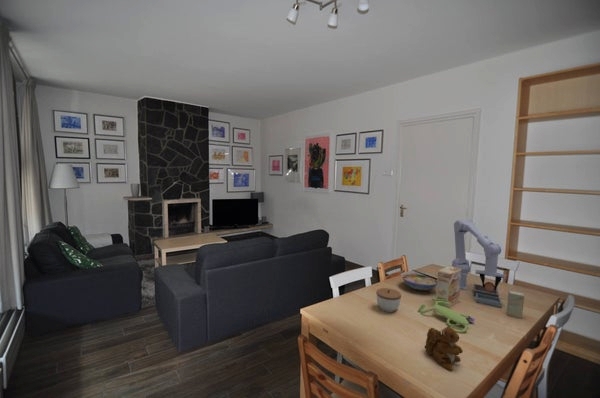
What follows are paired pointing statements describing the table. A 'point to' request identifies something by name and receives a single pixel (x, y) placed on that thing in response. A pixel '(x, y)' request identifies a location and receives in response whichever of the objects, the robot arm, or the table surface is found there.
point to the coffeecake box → (448, 285)
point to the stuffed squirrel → (443, 346)
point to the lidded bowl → (388, 299)
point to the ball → (489, 286)
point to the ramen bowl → (419, 280)
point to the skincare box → (515, 304)
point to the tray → (488, 300)
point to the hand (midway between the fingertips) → (489, 288)
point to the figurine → (449, 314)
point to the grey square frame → (480, 288)
